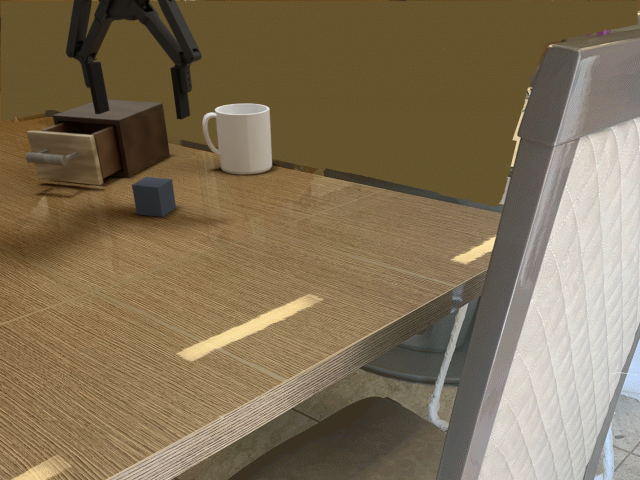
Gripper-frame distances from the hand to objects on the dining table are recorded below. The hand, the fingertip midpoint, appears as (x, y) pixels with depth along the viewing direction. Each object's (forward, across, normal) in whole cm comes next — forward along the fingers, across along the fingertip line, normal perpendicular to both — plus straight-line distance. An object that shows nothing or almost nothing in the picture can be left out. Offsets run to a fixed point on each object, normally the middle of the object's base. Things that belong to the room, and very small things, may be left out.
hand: (142, 115), depth 95 cm
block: (+14, 0, 0) cm, 14 cm away
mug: (+14, -3, -27) cm, 31 cm away
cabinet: (+14, +21, -23) cm, 34 cm away
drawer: (+13, +21, -12) cm, 28 cm away
